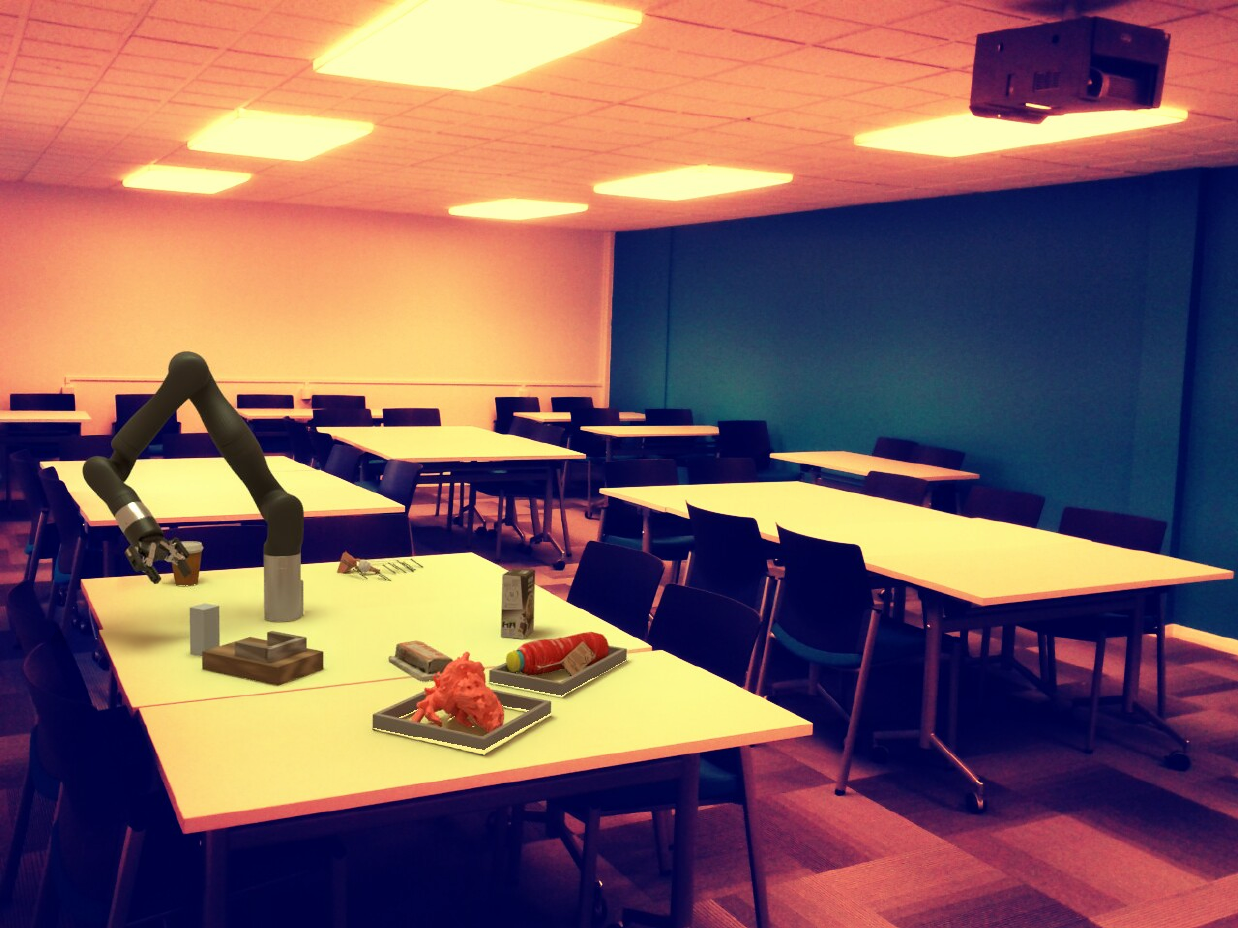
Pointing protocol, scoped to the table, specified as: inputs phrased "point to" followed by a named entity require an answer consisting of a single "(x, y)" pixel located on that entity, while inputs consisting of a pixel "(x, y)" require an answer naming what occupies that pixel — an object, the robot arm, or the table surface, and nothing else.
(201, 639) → the slate post
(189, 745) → the table surface
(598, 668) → the bottle corral
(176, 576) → the disposable coffee cup
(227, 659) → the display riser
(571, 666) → the water bottle
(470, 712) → the heart model
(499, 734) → the heart corral
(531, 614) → the coffee box
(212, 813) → the table surface
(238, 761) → the table surface
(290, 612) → the robot arm
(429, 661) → the packaged product
